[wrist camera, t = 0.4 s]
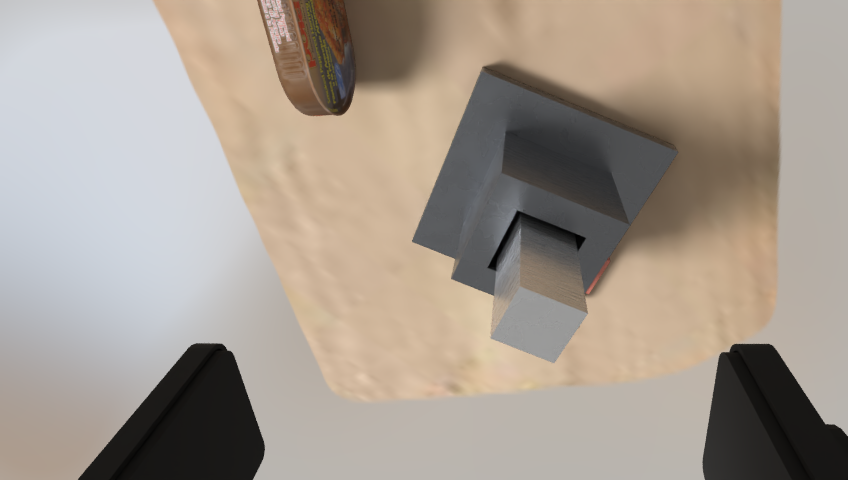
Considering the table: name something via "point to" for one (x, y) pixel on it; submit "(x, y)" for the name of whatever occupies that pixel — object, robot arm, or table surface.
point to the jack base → (537, 178)
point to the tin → (312, 53)
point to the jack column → (537, 288)
